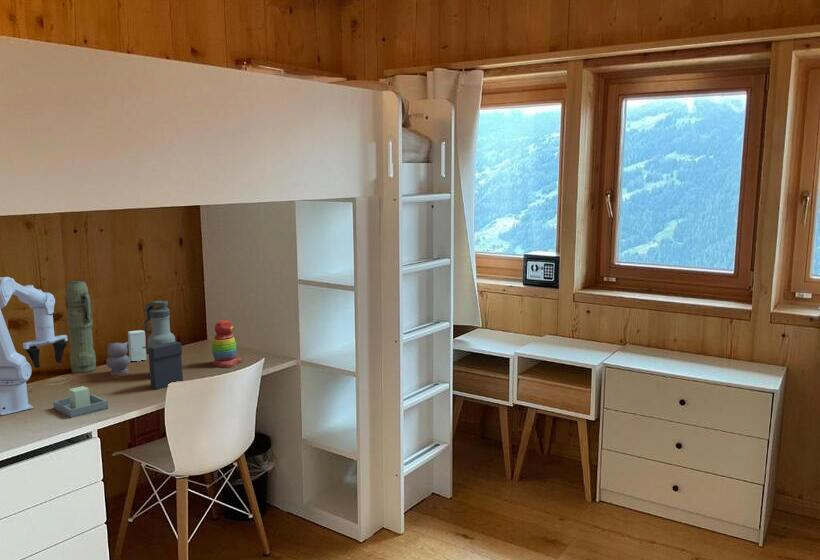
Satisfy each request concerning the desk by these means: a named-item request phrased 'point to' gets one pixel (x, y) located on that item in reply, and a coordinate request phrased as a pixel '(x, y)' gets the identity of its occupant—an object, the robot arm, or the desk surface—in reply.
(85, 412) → the bin
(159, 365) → the dark gray box
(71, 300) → the thermos
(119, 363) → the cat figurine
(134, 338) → the skincare box
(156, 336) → the water bottle
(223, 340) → the stacking bear
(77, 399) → the block
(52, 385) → the desk surface
